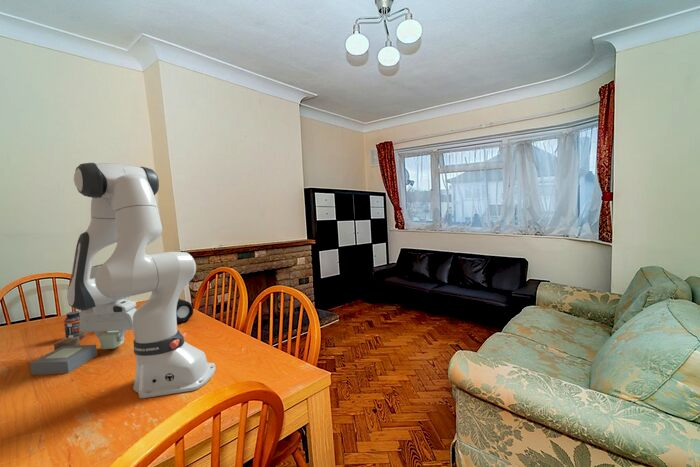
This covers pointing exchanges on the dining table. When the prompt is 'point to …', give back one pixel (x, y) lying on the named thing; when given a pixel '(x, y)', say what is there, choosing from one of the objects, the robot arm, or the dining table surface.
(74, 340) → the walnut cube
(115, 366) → the dining table surface
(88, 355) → the base block
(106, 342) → the sage cube
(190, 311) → the portable speaker
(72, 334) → the supplement bottle
